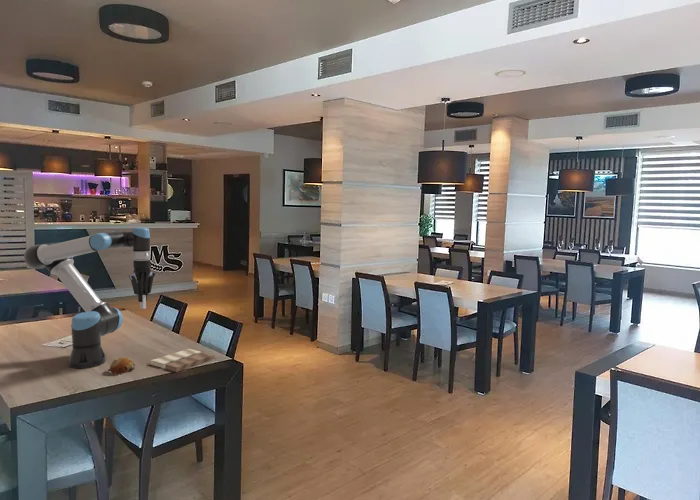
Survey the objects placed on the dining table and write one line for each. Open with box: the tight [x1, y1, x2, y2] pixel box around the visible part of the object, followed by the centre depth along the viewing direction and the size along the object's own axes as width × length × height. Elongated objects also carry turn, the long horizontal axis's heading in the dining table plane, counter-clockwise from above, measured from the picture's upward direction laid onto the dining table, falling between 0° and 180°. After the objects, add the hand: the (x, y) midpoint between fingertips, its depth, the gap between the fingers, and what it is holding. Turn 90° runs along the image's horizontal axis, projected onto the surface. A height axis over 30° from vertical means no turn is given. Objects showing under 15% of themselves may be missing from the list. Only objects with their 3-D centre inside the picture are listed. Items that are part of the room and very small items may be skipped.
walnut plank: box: [165, 352, 215, 373], centre depth 226 cm, size 22×8×2 cm, turn 149°
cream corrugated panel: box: [150, 348, 202, 369], centre depth 231 cm, size 22×9×2 cm, turn 149°
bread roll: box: [109, 356, 136, 375], centre depth 217 cm, size 10×10×8 cm
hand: (142, 308), depth 234 cm, fingers closed
